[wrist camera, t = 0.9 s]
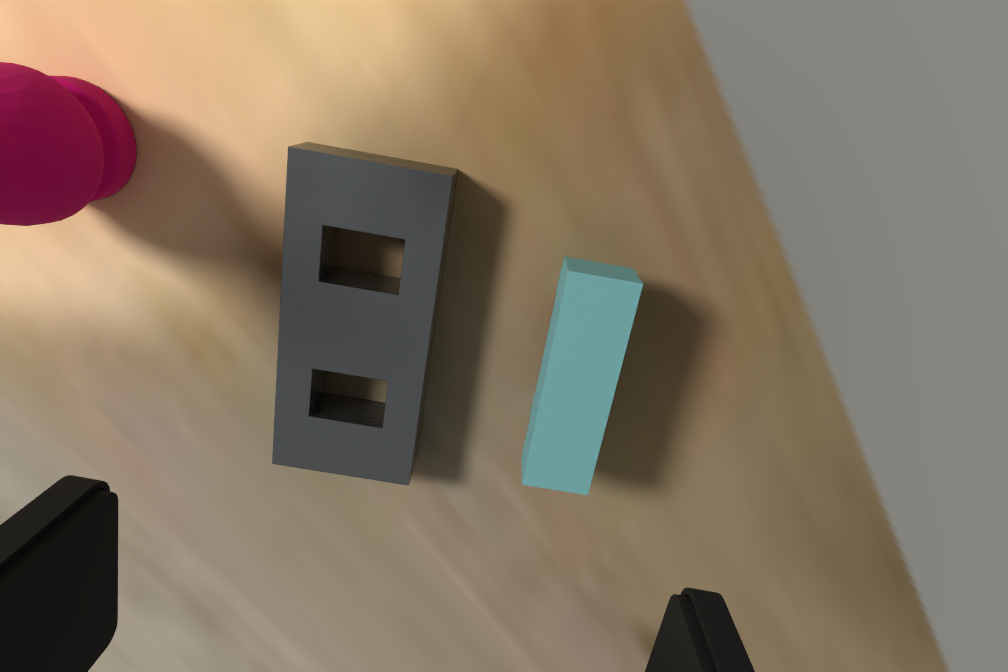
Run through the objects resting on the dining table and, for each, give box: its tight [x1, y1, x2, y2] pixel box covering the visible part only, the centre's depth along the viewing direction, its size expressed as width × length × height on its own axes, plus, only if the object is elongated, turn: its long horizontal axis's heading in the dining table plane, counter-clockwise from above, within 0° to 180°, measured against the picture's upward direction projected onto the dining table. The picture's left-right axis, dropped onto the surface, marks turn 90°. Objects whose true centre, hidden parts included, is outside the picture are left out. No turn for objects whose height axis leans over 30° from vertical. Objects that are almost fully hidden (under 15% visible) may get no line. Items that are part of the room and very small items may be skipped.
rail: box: [272, 142, 458, 485], centre depth 35 cm, size 18×8×3 cm, turn 170°
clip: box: [522, 257, 643, 495], centre depth 35 cm, size 12×4×6 cm, turn 170°
